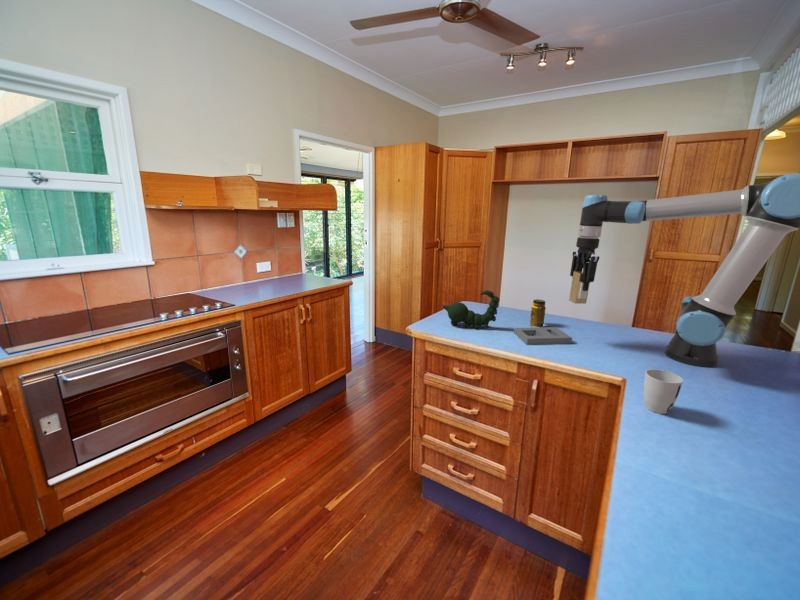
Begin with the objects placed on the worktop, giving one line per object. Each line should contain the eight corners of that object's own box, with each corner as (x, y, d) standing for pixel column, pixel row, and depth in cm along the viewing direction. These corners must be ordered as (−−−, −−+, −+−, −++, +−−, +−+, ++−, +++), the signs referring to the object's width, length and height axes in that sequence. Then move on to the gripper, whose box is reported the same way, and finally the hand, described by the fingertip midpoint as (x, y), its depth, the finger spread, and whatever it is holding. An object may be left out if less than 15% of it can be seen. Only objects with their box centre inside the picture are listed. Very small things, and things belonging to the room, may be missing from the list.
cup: (676, 420, 90) (685, 386, 88) (639, 411, 94) (646, 377, 92) (673, 406, 97) (680, 373, 94) (638, 398, 101) (644, 366, 98)
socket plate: (571, 343, 142) (572, 337, 141) (526, 344, 140) (527, 338, 139) (554, 332, 154) (555, 327, 153) (513, 333, 152) (514, 327, 152)
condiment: (526, 323, 167) (528, 298, 164) (542, 322, 168) (545, 298, 165) (534, 328, 160) (537, 302, 157) (551, 327, 161) (554, 302, 158)
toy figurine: (493, 329, 162) (440, 319, 168) (500, 290, 157) (446, 281, 163) (493, 335, 154) (437, 325, 159) (501, 295, 148) (443, 285, 154)
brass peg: (586, 303, 136) (591, 273, 133) (575, 303, 136) (580, 273, 133) (579, 300, 141) (584, 271, 137) (568, 300, 140) (573, 271, 137)
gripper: (566, 235, 139) (557, 291, 146) (593, 239, 123) (582, 302, 129) (584, 235, 140) (574, 291, 147) (613, 240, 123) (601, 302, 130)
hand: (578, 296), depth 138 cm, fingers closed on brass peg, 4 cm apart
